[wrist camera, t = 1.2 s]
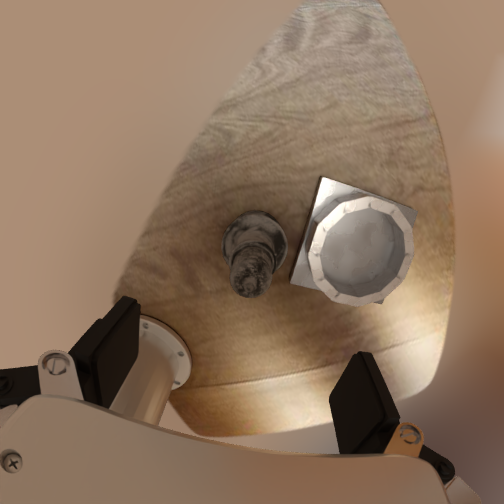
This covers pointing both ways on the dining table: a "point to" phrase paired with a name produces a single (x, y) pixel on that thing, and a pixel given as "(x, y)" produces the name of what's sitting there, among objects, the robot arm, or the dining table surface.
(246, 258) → the salt shaker
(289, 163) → the dining table surface
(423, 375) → the dining table surface
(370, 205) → the hub plate
